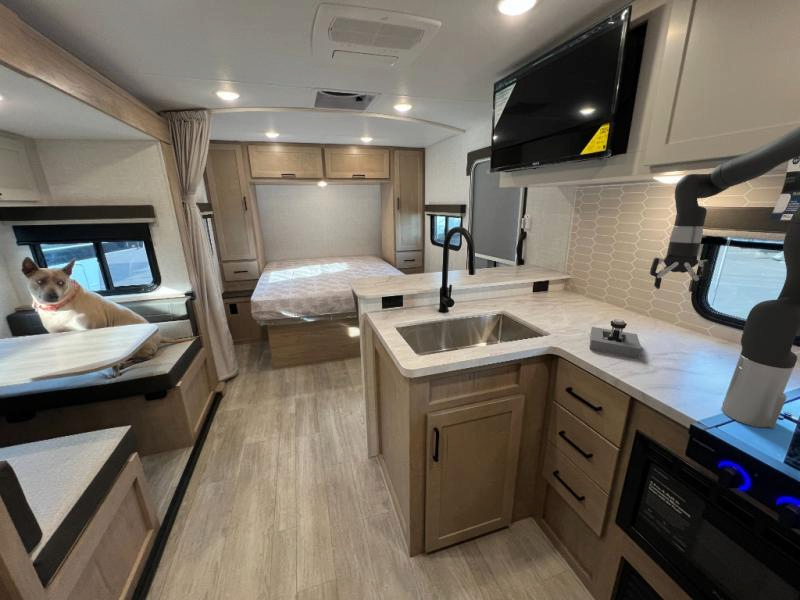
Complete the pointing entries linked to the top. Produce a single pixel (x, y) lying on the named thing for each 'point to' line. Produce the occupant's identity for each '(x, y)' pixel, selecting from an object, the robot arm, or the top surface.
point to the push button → (616, 330)
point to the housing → (615, 343)
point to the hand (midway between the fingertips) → (673, 290)
